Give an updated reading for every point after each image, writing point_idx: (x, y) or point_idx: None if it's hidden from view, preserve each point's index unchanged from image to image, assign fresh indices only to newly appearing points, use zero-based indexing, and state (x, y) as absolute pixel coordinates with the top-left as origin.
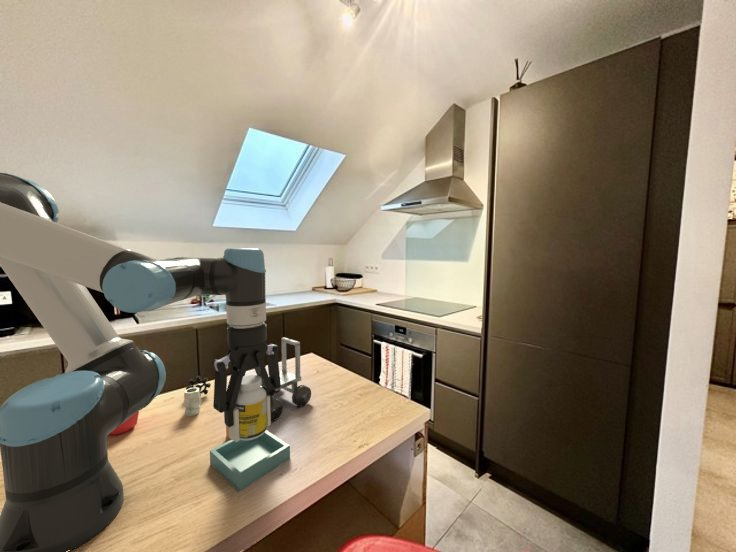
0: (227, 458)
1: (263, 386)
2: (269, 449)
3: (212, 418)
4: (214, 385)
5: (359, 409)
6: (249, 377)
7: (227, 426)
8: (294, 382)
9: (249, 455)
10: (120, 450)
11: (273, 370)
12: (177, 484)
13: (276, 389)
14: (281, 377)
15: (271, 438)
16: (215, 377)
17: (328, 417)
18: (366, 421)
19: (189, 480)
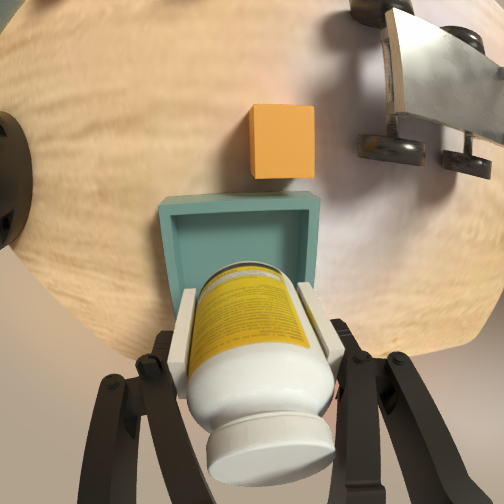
0: (200, 219)
1: (343, 394)
2: (289, 264)
3: (265, 3)
4: (83, 462)
5: (469, 275)
6: (290, 459)
7: (252, 115)
8: (490, 141)
9: (244, 249)
10: (64, 16)
11: (399, 452)
12: (98, 212)
13: (450, 126)
14: (487, 95)
15: (304, 271)
16: (81, 501)
17: (437, 252)
18: (444, 312)
19: (118, 217)
